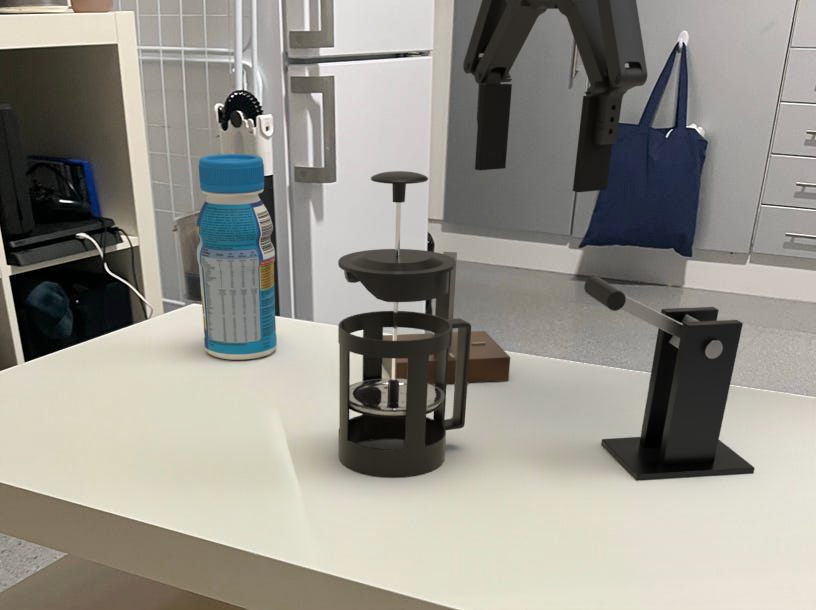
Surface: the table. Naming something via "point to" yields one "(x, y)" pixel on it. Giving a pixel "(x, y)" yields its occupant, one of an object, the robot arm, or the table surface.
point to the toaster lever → (634, 307)
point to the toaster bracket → (686, 403)
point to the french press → (391, 397)
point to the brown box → (483, 359)
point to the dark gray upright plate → (447, 295)
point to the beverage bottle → (236, 258)
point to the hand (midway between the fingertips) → (536, 179)
